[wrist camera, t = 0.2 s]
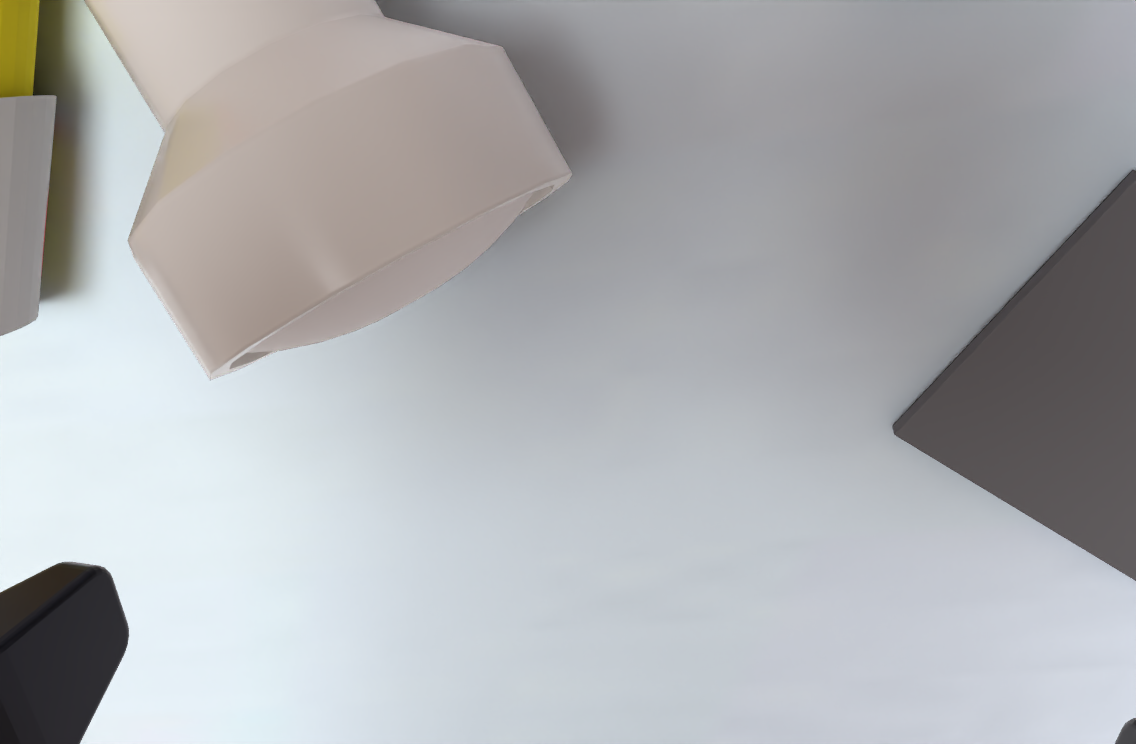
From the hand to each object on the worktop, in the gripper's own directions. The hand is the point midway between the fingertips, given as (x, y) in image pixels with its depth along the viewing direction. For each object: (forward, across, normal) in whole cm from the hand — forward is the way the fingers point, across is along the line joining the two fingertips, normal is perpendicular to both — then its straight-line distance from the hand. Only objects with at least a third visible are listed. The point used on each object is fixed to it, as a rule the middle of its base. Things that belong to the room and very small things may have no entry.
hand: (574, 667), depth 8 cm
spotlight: (+15, +8, -2) cm, 17 cm away
